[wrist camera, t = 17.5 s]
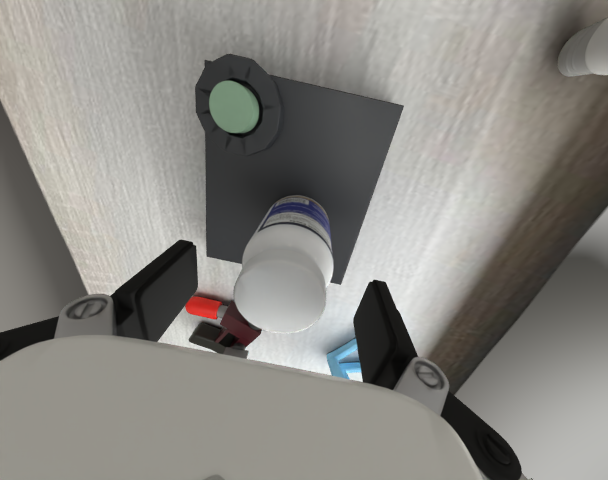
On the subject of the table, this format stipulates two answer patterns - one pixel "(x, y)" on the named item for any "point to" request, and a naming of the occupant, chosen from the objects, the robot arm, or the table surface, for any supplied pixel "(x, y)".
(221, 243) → the dark grey button base
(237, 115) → the button
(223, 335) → the toy gun
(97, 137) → the table surface
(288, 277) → the pill bottle
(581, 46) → the lightbulb
